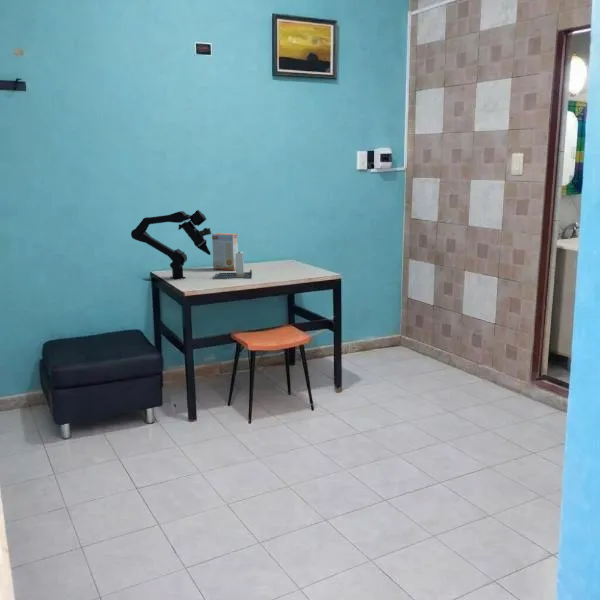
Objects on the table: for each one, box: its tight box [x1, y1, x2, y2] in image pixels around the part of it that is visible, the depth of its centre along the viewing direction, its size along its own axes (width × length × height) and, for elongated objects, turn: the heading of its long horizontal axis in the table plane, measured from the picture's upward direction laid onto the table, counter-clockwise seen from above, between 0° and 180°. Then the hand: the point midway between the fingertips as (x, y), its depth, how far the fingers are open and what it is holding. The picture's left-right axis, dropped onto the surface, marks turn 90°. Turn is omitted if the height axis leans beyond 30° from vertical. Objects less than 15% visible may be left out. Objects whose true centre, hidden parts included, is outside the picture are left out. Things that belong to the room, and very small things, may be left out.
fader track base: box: [213, 269, 253, 280], centre depth 353 cm, size 20×10×3 cm, turn 93°
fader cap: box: [235, 250, 245, 275], centre depth 352 cm, size 4×5×13 cm
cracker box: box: [211, 232, 239, 271], centre depth 376 cm, size 14×6×21 cm, turn 65°
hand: (210, 254), depth 347 cm, fingers closed
